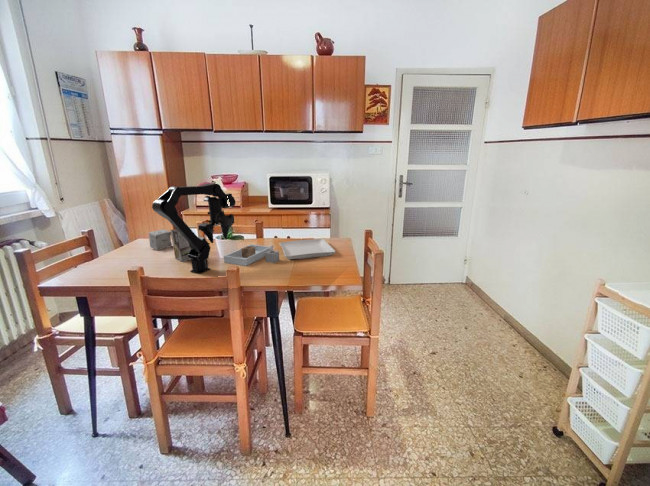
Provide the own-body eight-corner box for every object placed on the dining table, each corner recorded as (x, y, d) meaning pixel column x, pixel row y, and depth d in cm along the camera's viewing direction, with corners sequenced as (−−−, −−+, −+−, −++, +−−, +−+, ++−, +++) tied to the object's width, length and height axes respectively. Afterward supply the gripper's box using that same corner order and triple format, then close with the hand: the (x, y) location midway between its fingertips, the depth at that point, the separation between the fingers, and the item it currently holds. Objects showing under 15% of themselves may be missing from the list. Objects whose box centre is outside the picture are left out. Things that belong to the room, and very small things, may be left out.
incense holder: (158, 250, 174) (155, 233, 172) (150, 249, 178) (146, 232, 175) (173, 246, 183) (170, 230, 180) (165, 244, 187) (162, 228, 184)
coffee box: (194, 259, 159) (189, 229, 155) (181, 262, 155) (176, 232, 150) (186, 255, 165) (182, 227, 161) (174, 258, 161) (169, 229, 156)
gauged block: (274, 263, 150) (272, 247, 148) (265, 262, 152) (264, 246, 150) (279, 260, 155) (278, 244, 152) (271, 259, 157) (270, 243, 154)
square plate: (285, 263, 151) (285, 255, 150) (278, 248, 177) (278, 241, 176) (336, 257, 158) (336, 250, 157) (322, 243, 184) (322, 237, 182)
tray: (246, 266, 147) (245, 259, 146) (224, 262, 153) (223, 256, 152) (271, 253, 166) (271, 246, 165) (251, 250, 172) (250, 244, 171)
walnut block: (242, 257, 158) (241, 248, 157) (248, 254, 162) (247, 245, 161) (249, 258, 156) (248, 249, 155) (255, 255, 160) (254, 246, 159)
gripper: (213, 214, 133) (217, 247, 137) (241, 207, 149) (244, 237, 154) (195, 212, 138) (199, 244, 142) (224, 206, 154) (227, 235, 158)
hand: (219, 240), depth 149 cm, fingers open, 9 cm apart
